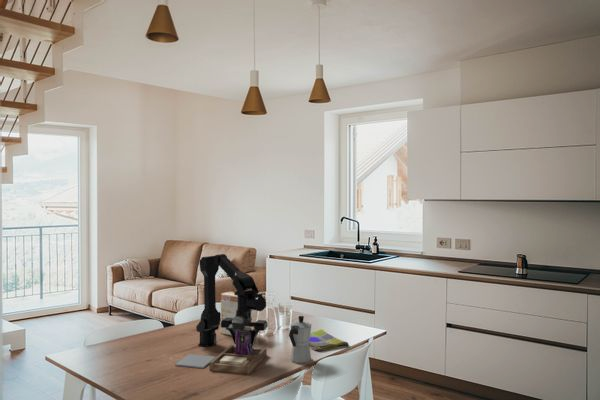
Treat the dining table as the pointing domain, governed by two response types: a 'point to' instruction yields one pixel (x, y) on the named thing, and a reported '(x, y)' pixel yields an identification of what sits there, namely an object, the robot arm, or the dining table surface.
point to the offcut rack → (235, 368)
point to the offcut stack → (234, 360)
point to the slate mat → (195, 361)
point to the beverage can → (243, 342)
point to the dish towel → (324, 341)
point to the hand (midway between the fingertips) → (243, 344)
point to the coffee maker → (300, 341)
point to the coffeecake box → (229, 309)
